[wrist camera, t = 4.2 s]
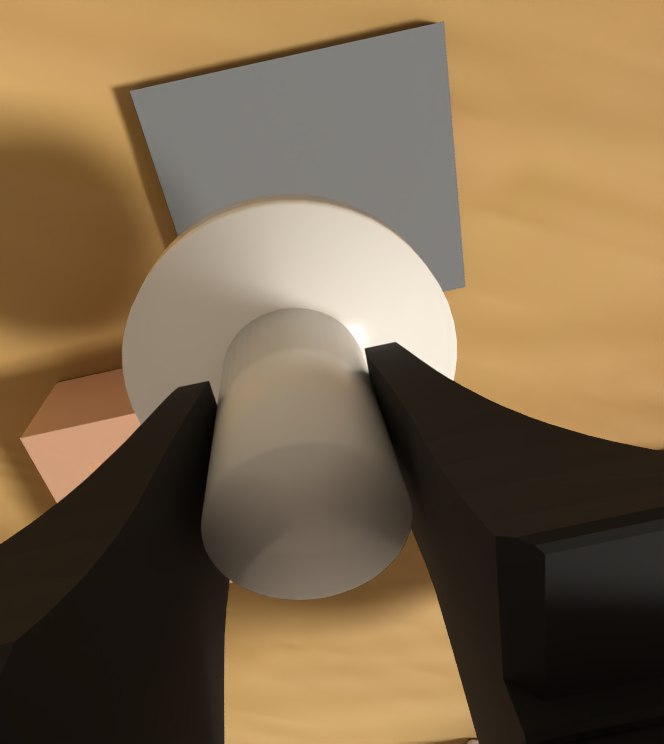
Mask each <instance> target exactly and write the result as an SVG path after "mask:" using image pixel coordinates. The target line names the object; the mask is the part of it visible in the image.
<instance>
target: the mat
mask: <svg viewBox="0 0 664 744" xmlns="http://www.w3.org/2000/svg"><path fill="white" fill-rule="evenodd" d="M130 93H131V96H132V99H133V102H134V106H135V109H136V112H137V115H138V118H139V121H140V124H141V127H142V130H143V133H144V136H145V139H146V142H147V145H148V148H149V151H150V154H151V157H152V160H153V163H154V166H155V169H156V172H157V175H158V178H159V181H160V184H161V187H162V190H163V193H164V196H165V199H166V202H167V205H168V208H169V211H170V214H171V217H172V220H173V223H174V226H175V229H176V232H177V235H178V236H179V235H180V234H182V233H183V232H184V231H185V230H187V229H188V228H189V227H190V226H191V225H193V224H194V223H196V222H198V221H199V220H201V219H203V218H204V217H206V216H207V215H209V214H211V213H213V212H215V211H217V210H220V209H222V208H224V207H227V206H229V205H231V204H234V203H237V202H241V201H245V200H248V199H252V198H256V197H263V196H271V195H278V194H303V195H310V196H318V197H325V198H329V199H332V200H336V201H339V202H343V203H347V204H349V205H351V206H354V207H356V208H358V209H361V210H363V211H365V212H368V213H369V214H371V215H373V216H374V217H376V218H377V219H379V220H381V221H382V222H384V223H386V224H387V225H388V226H389V227H391V228H392V229H393V230H394V231H396V232H397V233H398V234H399V235H400V236H402V237H403V238H404V239H405V241H406V242H407V243H408V244H409V245H410V246H411V247H412V248H413V249H414V250H415V252H416V253H417V254H418V255H419V257H420V258H421V259H422V261H423V262H424V263H425V265H426V266H427V267H428V269H429V270H430V272H431V273H432V275H433V276H434V277H435V279H436V280H437V282H438V283H439V285H440V287H441V289H442V291H443V292H444V291H449V290H453V289H458V288H462V287H465V276H464V264H463V251H462V239H461V226H460V214H459V202H458V189H457V177H456V165H455V152H454V140H453V128H452V115H451V103H450V90H449V78H448V66H447V53H446V41H445V29H444V22H439V23H435V24H430V25H426V26H421V27H417V28H412V29H408V30H403V31H399V32H394V33H390V34H385V35H381V36H376V37H372V38H367V39H362V40H358V41H353V42H349V43H344V44H340V45H335V46H331V47H326V48H322V49H317V50H313V51H308V52H304V53H299V54H295V55H290V56H286V57H281V58H277V59H272V60H268V61H263V62H259V63H254V64H250V65H245V66H241V67H236V68H232V69H227V70H222V71H218V72H213V73H209V74H204V75H200V76H195V77H191V78H186V79H182V80H177V81H173V82H168V83H164V84H159V85H155V86H150V87H146V88H141V89H137V90H132V91H130Z"/></svg>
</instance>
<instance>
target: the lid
mask: <svg viewBox="0 0 664 744" xmlns="http://www.w3.org/2000/svg"><path fill="white" fill-rule="evenodd" d="M392 342H397V343H398V344H400V345H401V346H402V347H404V348H405V349H407V350H408V351H410V352H411V353H412V354H414V355H415V356H416V357H418V358H419V359H421V360H422V361H424V362H425V363H426V364H428V365H429V366H431V367H432V368H434V369H435V370H437V371H438V372H440V373H441V374H443V375H445V376H446V377H448V378H449V379H451V380H454V375H455V368H456V361H457V340H456V333H455V326H454V321H453V317H452V314H451V311H450V307H449V304H448V302H447V300H446V297H445V295H444V293H443V291H442V289H441V287H440V285H439V283H438V282H437V280H436V279H435V277H434V276H433V275H432V273H431V272H430V270H429V269H428V267H427V266H426V265H425V263H424V262H423V261H422V259H421V258H420V257H419V255H418V254H417V253H416V252H415V250H414V249H413V248H412V247H411V246H410V245H409V244H408V243H407V242H406V241H405V239H404V238H403V237H402V236H400V235H399V234H398V233H397V232H396V231H394V230H393V229H392V228H391V227H389V226H388V225H387V224H386V223H384V222H382V221H381V220H379V219H377V218H376V217H374V216H373V215H371V214H369V213H368V212H365V211H363V210H361V209H358V208H356V207H354V206H351V205H349V204H347V203H343V202H339V201H336V200H332V199H329V198H325V197H318V196H310V195H303V194H278V195H271V196H263V197H256V198H252V199H248V200H245V201H241V202H237V203H234V204H231V205H229V206H227V207H224V208H222V209H220V210H217V211H215V212H213V213H211V214H209V215H207V216H206V217H204V218H203V219H201V220H199V221H198V222H196V223H194V224H193V225H191V226H190V227H189V228H188V229H187V230H185V231H184V232H183V233H182V234H180V235H179V236H178V237H177V238H176V239H175V240H174V241H173V242H172V243H171V244H170V245H169V246H168V247H167V248H166V249H165V251H164V252H163V253H162V254H161V255H160V257H159V258H158V260H157V261H156V263H155V264H154V266H153V267H152V268H151V270H150V271H149V273H148V275H147V277H146V279H145V281H144V283H143V284H142V286H141V288H140V290H139V292H138V294H137V296H136V299H135V301H134V303H133V305H132V307H131V309H130V313H129V316H128V319H127V323H126V326H125V330H124V338H123V345H122V370H123V375H124V381H125V386H126V390H127V393H128V396H129V399H130V402H131V405H132V408H133V410H134V412H135V414H136V416H137V418H138V420H139V422H140V423H141V424H142V423H143V422H144V421H145V420H146V419H147V418H148V417H149V416H150V415H151V414H152V413H153V411H154V410H155V409H156V408H157V407H158V406H159V405H160V404H161V403H162V402H163V401H164V400H165V399H166V398H167V397H168V396H169V395H170V394H171V393H172V392H173V391H174V390H175V389H177V388H178V387H181V386H186V385H191V384H196V383H200V382H205V381H209V382H210V385H211V388H212V391H213V394H214V397H215V400H216V403H217V411H216V418H215V426H214V433H213V440H212V447H211V454H210V462H209V469H208V476H207V483H206V491H205V498H204V505H203V512H202V521H201V533H202V540H203V544H204V547H205V550H206V552H207V554H208V556H209V558H210V559H211V561H212V562H213V563H214V565H215V566H216V567H217V568H218V569H219V570H220V572H221V573H222V574H223V575H225V576H226V577H227V578H229V579H230V580H231V581H232V582H234V583H236V584H238V585H239V586H241V587H243V588H245V589H247V590H249V591H252V592H254V593H257V594H261V595H264V596H268V597H273V598H278V599H287V600H310V599H319V598H325V597H330V596H334V595H338V594H341V593H344V592H347V591H350V590H352V589H354V588H356V587H359V586H361V585H363V584H365V583H366V582H368V581H370V580H371V579H373V578H374V577H376V576H377V575H378V574H380V573H381V572H382V571H384V570H385V569H386V568H387V567H388V566H389V565H390V564H391V563H392V562H393V561H394V559H395V558H396V557H397V556H398V555H399V553H400V551H401V550H402V548H403V547H404V545H405V543H406V541H407V538H408V536H409V532H410V529H411V523H412V506H411V502H410V498H409V495H408V491H407V488H406V485H405V482H404V479H403V476H402V473H401V470H400V467H399V464H398V461H397V458H396V455H395V451H394V448H393V445H392V442H391V439H390V436H389V433H388V430H387V427H386V424H385V421H384V418H383V415H382V412H381V409H380V406H379V403H378V401H377V397H376V394H375V391H374V388H373V385H372V382H371V379H370V376H369V372H368V366H367V360H366V354H365V348H368V347H373V346H378V345H383V344H388V343H392Z"/></svg>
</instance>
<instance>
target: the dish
mask: <svg viewBox="0 0 664 744" xmlns="http://www.w3.org/2000/svg"><path fill="white" fill-rule="evenodd" d="M140 425H141V423H140V422H139V420H138V418H137V416H136V414H135V412H134V410H133V408H132V405H131V402H130V399H129V396H128V393H127V390H126V386H125V381H124V375H123V370H122V368H121V369H117V370H112V371H108V372H103V373H99V374H94V375H90V376H85V377H80V378H76V379H71V380H67V381H62V382H58V383H56V384H55V386H54V388H53V389H52V391H51V392H50V394H49V395H48V397H47V398H46V400H45V401H44V403H43V404H42V406H41V407H40V409H39V410H38V412H37V413H36V415H35V416H34V418H33V419H32V421H31V422H30V424H29V425H28V427H27V428H26V430H25V431H24V433H23V434H22V436H21V437H20V440H21V441H22V443H23V445H24V447H25V448H26V450H27V452H28V454H29V455H30V457H31V459H32V461H33V462H34V464H35V466H36V468H37V469H38V471H39V473H40V475H41V476H42V478H43V480H44V481H45V483H46V485H47V487H48V488H49V490H50V492H51V494H52V495H53V497H54V499H55V501H56V502H57V503H58V502H59V501H60V500H62V499H63V498H64V497H65V496H67V495H68V494H69V493H70V492H71V491H73V490H74V489H75V488H76V487H77V486H78V485H80V484H81V483H82V482H83V481H84V480H85V479H86V478H88V477H89V476H90V475H91V474H92V473H93V472H94V471H95V470H96V469H97V468H98V467H99V466H100V465H101V464H102V463H103V462H104V461H105V460H106V459H107V458H108V457H110V456H111V455H112V454H113V453H114V452H115V451H116V450H117V449H118V448H119V447H120V446H121V445H122V444H123V443H124V442H125V441H126V440H127V439H128V438H129V437H130V436H131V435H132V434H133V433H134V432H135V431H136V429H137V428H138V427H139V426H140ZM229 583H232V581H231V580H230V582H229Z"/></svg>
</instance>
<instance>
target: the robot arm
mask: <svg viewBox="0 0 664 744" xmlns="http://www.w3.org/2000/svg"><path fill="white" fill-rule="evenodd" d="M365 354H366V360H367V366H368V372H369V376H370V379H371V382H372V385H373V388H374V391H375V394H376V397H377V401H378V403H379V406H380V409H381V412H382V415H383V418H384V421H385V424H386V427H387V430H388V433H389V436H390V439H391V442H392V445H393V448H394V451H395V455H396V458H397V461H398V464H399V467H400V470H401V473H402V476H403V479H404V482H405V485H406V488H407V491H408V495H409V498H410V502H411V506H412V523H411V529H412V531H413V534H414V536H415V538H416V541H417V543H418V546H419V548H420V551H421V553H422V556H423V558H424V561H425V563H426V566H427V568H428V571H429V574H430V577H431V580H432V582H433V585H434V588H435V591H436V594H437V598H438V601H439V605H440V608H441V612H442V615H443V619H444V622H445V625H446V629H447V632H448V636H449V639H450V643H451V646H452V650H453V653H454V657H455V660H456V664H457V667H458V671H459V674H460V678H461V681H462V685H463V688H464V692H465V695H466V699H467V703H468V706H469V710H470V713H471V717H472V721H473V724H474V728H475V732H476V735H477V739H478V742H479V744H664V452H663V451H658V450H652V449H647V448H642V447H637V446H633V445H628V444H623V443H618V442H613V441H609V440H605V439H601V438H597V437H593V436H589V435H585V434H581V433H578V432H575V431H571V430H568V429H565V428H561V427H558V426H555V425H551V424H548V423H545V422H542V421H539V420H537V419H534V418H531V417H528V416H526V415H523V414H521V413H518V412H516V411H514V410H511V409H509V408H506V407H504V406H501V405H499V404H497V403H495V402H492V401H490V400H488V399H486V398H484V397H482V396H480V395H478V394H477V393H475V392H473V391H471V390H469V389H467V388H465V387H463V386H461V385H460V384H458V383H456V382H455V381H453V380H451V379H449V378H448V377H446V376H445V375H443V374H441V373H440V372H438V371H437V370H435V369H434V368H432V367H431V366H429V365H428V364H426V363H425V362H424V361H422V360H421V359H419V358H418V357H416V356H415V355H414V354H412V353H411V352H410V351H408V350H407V349H405V348H404V347H402V346H401V345H400V344H398V343H397V342H392V343H388V344H383V345H378V346H373V347H368V348H365ZM216 411H217V403H216V400H215V397H214V394H213V391H212V388H211V385H210V382H209V381H205V382H200V383H196V384H191V385H186V386H181V387H178V388H177V389H175V390H174V391H173V392H172V393H171V394H170V395H169V396H168V397H167V398H166V399H165V400H164V401H163V402H162V403H161V404H160V405H159V406H158V407H157V408H156V409H155V410H154V411H153V413H152V414H151V415H150V416H149V417H148V418H147V419H146V420H145V421H144V422H143V423H142V424H141V425H140V426H139V427H138V428H137V429H136V431H135V432H134V433H133V434H132V435H131V436H130V437H129V438H128V439H127V440H126V441H125V442H124V443H123V444H122V445H121V446H120V447H119V448H118V449H117V450H116V451H115V452H114V453H113V454H112V455H111V456H110V457H108V458H107V459H106V460H105V461H104V462H103V463H102V464H101V465H100V466H99V467H98V468H97V469H96V470H95V471H94V472H93V473H92V474H91V475H90V476H89V477H88V478H86V479H85V480H84V481H83V482H82V483H81V484H80V485H78V486H77V487H76V488H75V489H74V490H73V491H71V492H70V493H69V494H68V495H67V496H65V497H64V498H63V499H62V500H60V501H59V502H58V503H57V504H55V505H54V506H53V507H52V508H50V509H49V510H48V511H46V512H45V513H44V514H43V515H41V516H40V517H39V518H37V519H36V520H35V521H33V522H32V523H31V524H29V525H28V526H26V527H25V528H23V529H22V530H21V531H19V532H18V533H16V534H15V535H13V536H12V537H10V538H9V539H7V540H6V541H4V542H3V543H2V544H0V744H224V634H225V620H226V607H227V599H228V591H229V582H230V579H229V578H227V577H226V576H225V575H223V574H222V573H221V572H220V570H219V569H218V568H217V567H216V566H215V565H214V563H213V562H212V561H211V559H210V558H209V556H208V554H207V552H206V550H205V547H204V544H203V540H202V533H201V521H202V512H203V505H204V498H205V491H206V483H207V476H208V469H209V462H210V454H211V447H212V440H213V433H214V426H215V418H216Z"/></svg>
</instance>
